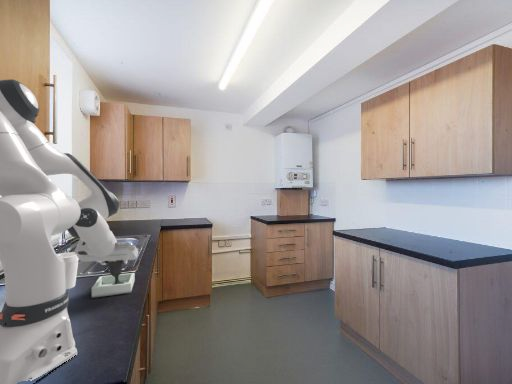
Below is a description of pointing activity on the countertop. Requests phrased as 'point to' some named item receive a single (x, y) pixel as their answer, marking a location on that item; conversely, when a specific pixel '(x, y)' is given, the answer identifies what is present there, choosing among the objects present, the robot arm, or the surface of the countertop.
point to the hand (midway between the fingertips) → (115, 262)
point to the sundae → (115, 269)
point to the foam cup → (70, 268)
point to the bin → (106, 288)
